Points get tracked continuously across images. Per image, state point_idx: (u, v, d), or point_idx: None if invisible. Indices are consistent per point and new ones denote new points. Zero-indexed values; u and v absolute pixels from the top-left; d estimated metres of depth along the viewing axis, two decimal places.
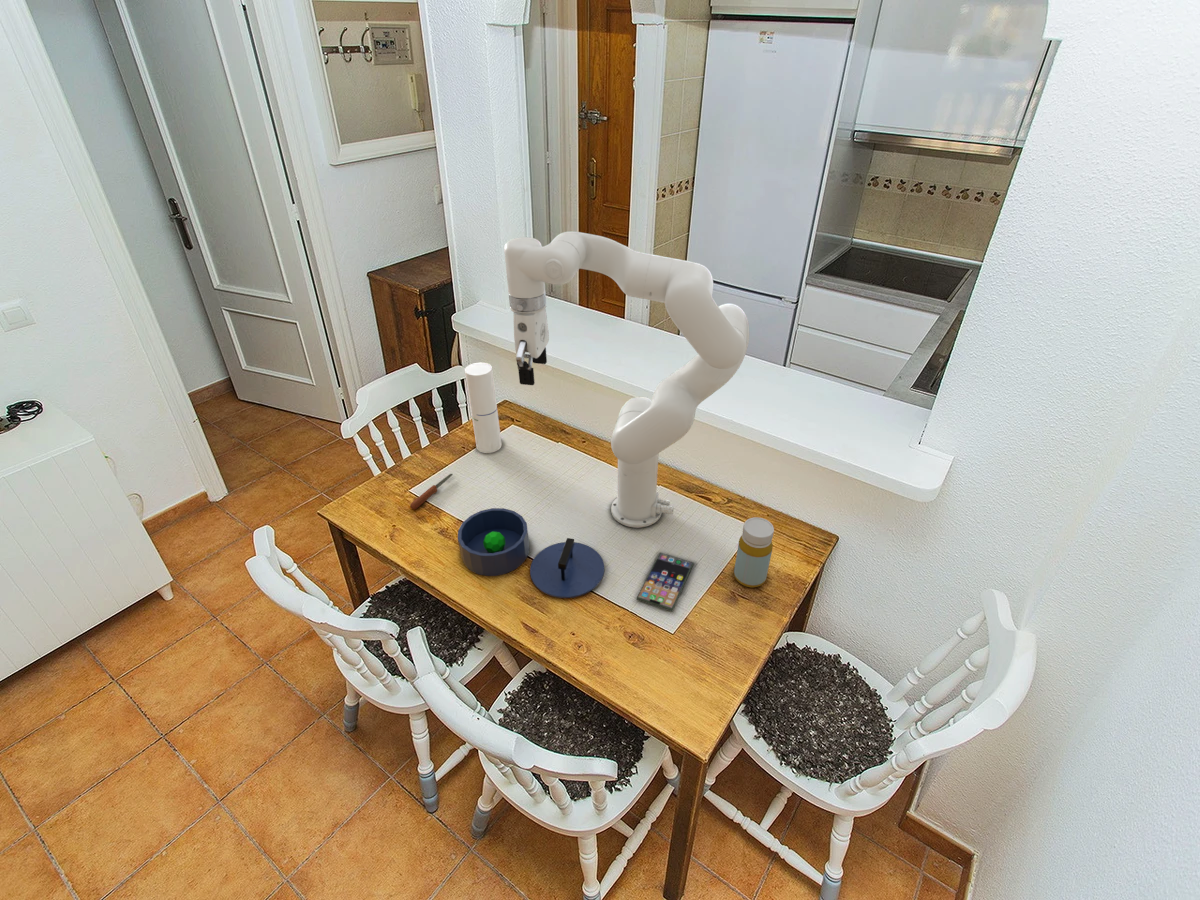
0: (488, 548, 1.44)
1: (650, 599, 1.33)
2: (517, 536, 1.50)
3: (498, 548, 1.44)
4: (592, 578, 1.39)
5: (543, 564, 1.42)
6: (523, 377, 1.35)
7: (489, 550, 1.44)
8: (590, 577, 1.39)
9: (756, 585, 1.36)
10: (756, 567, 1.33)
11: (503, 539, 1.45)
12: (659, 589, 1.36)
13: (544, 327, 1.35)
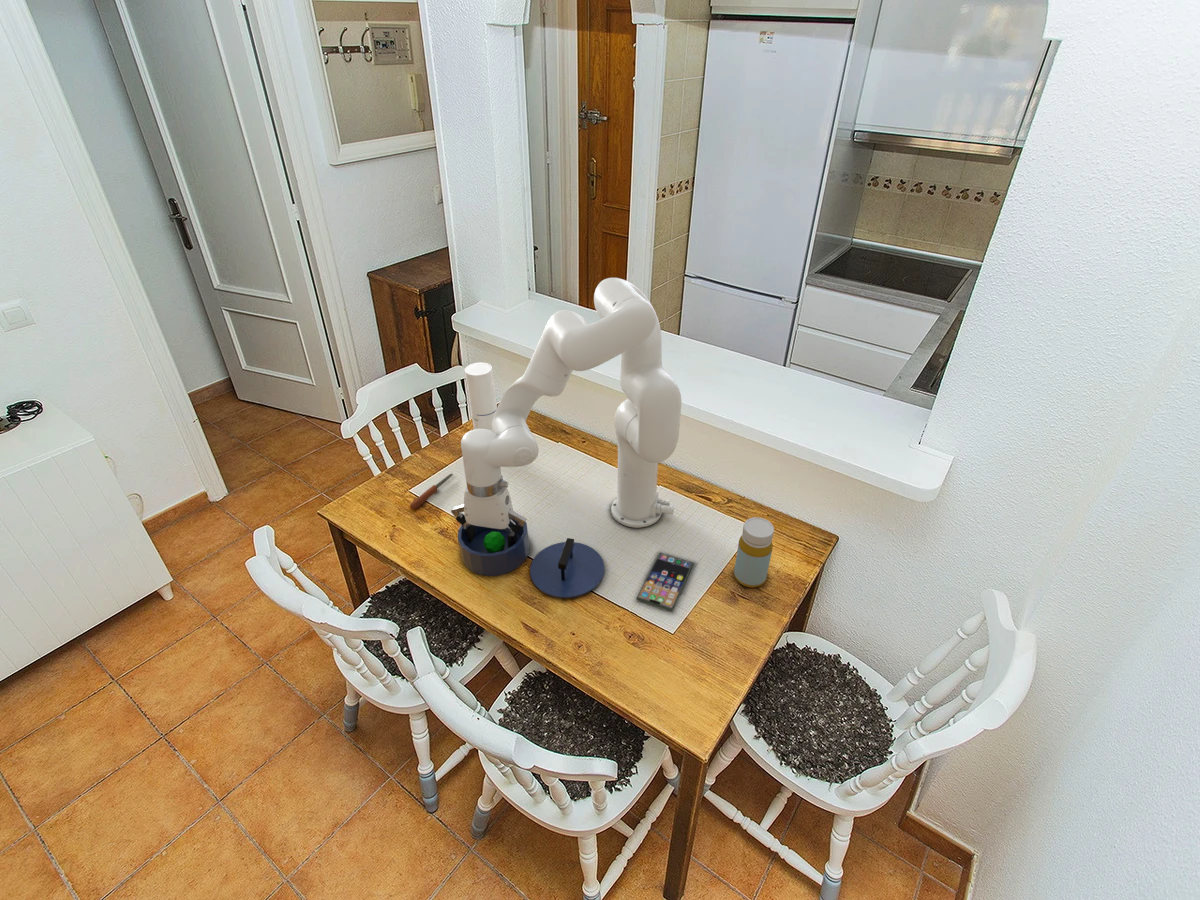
0: (488, 548, 1.44)
1: (650, 599, 1.33)
2: (517, 536, 1.50)
3: (498, 548, 1.44)
4: (592, 578, 1.39)
5: (543, 564, 1.42)
6: (515, 539, 1.43)
7: (489, 550, 1.44)
8: (590, 577, 1.39)
9: (756, 585, 1.36)
10: (756, 567, 1.33)
11: (503, 539, 1.45)
12: (659, 589, 1.36)
13: None
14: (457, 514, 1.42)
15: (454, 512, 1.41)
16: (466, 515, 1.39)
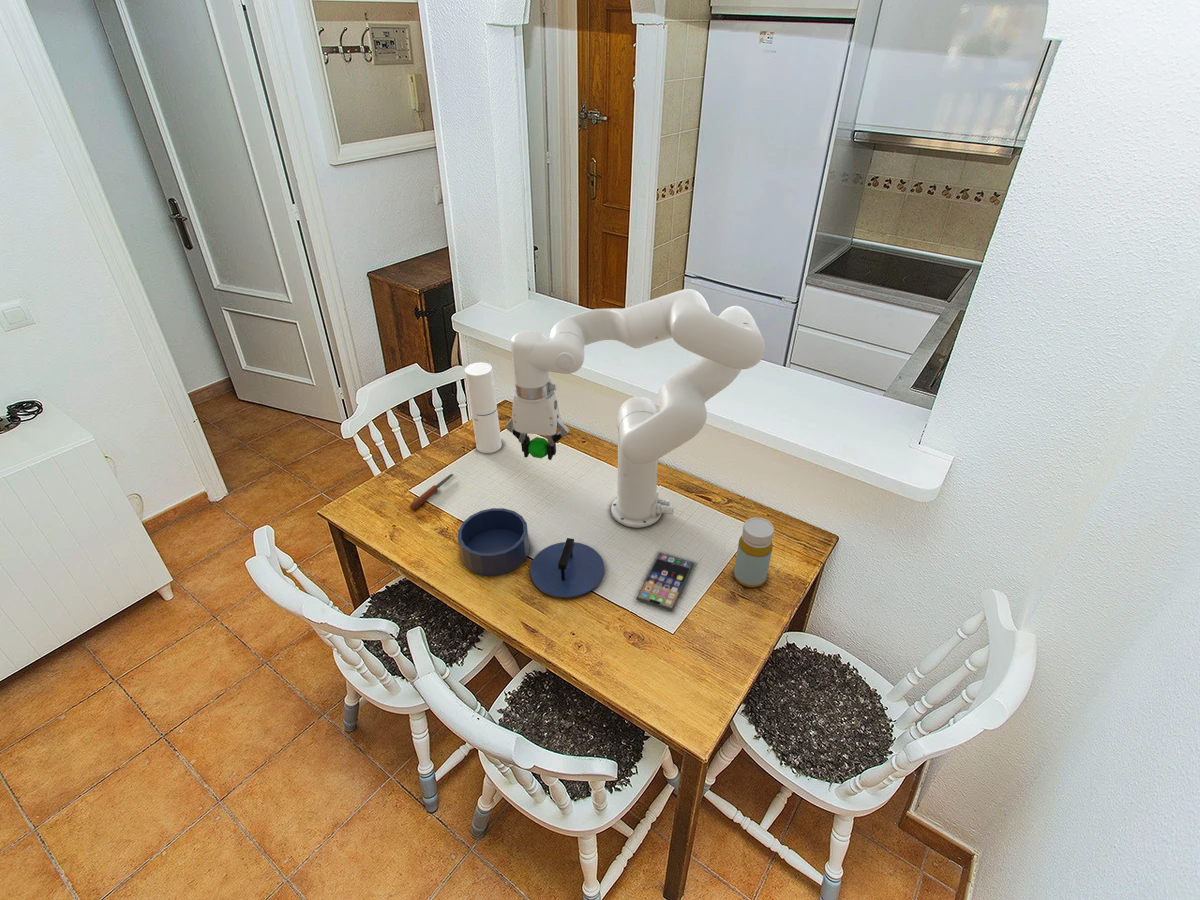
0: (533, 452, 1.44)
1: (650, 599, 1.33)
2: (517, 536, 1.50)
3: (543, 452, 1.44)
4: (592, 578, 1.39)
5: (543, 564, 1.42)
6: (554, 450, 1.45)
7: (534, 454, 1.45)
8: (590, 577, 1.39)
9: (756, 585, 1.36)
10: (756, 567, 1.33)
11: (547, 444, 1.45)
12: (659, 589, 1.36)
13: None
14: (512, 428, 1.43)
15: (508, 427, 1.43)
16: (514, 422, 1.40)
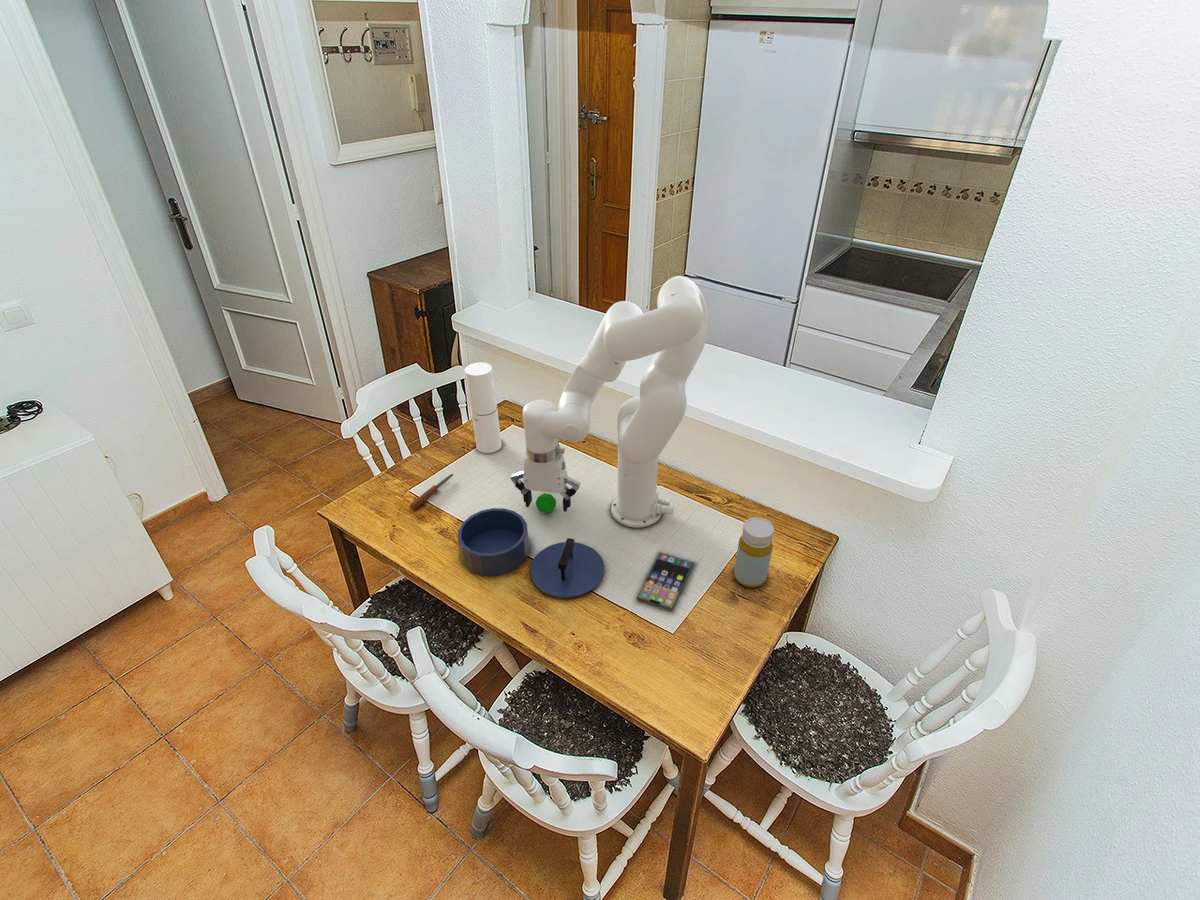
0: (541, 508, 1.55)
1: (650, 599, 1.33)
2: (517, 536, 1.50)
3: (550, 508, 1.55)
4: (592, 578, 1.39)
5: (543, 564, 1.42)
6: (569, 503, 1.55)
7: (541, 510, 1.56)
8: (590, 577, 1.39)
9: (756, 585, 1.36)
10: (756, 567, 1.33)
11: (554, 500, 1.57)
12: (659, 589, 1.36)
13: None
14: (516, 481, 1.54)
15: (513, 479, 1.54)
16: (525, 481, 1.52)
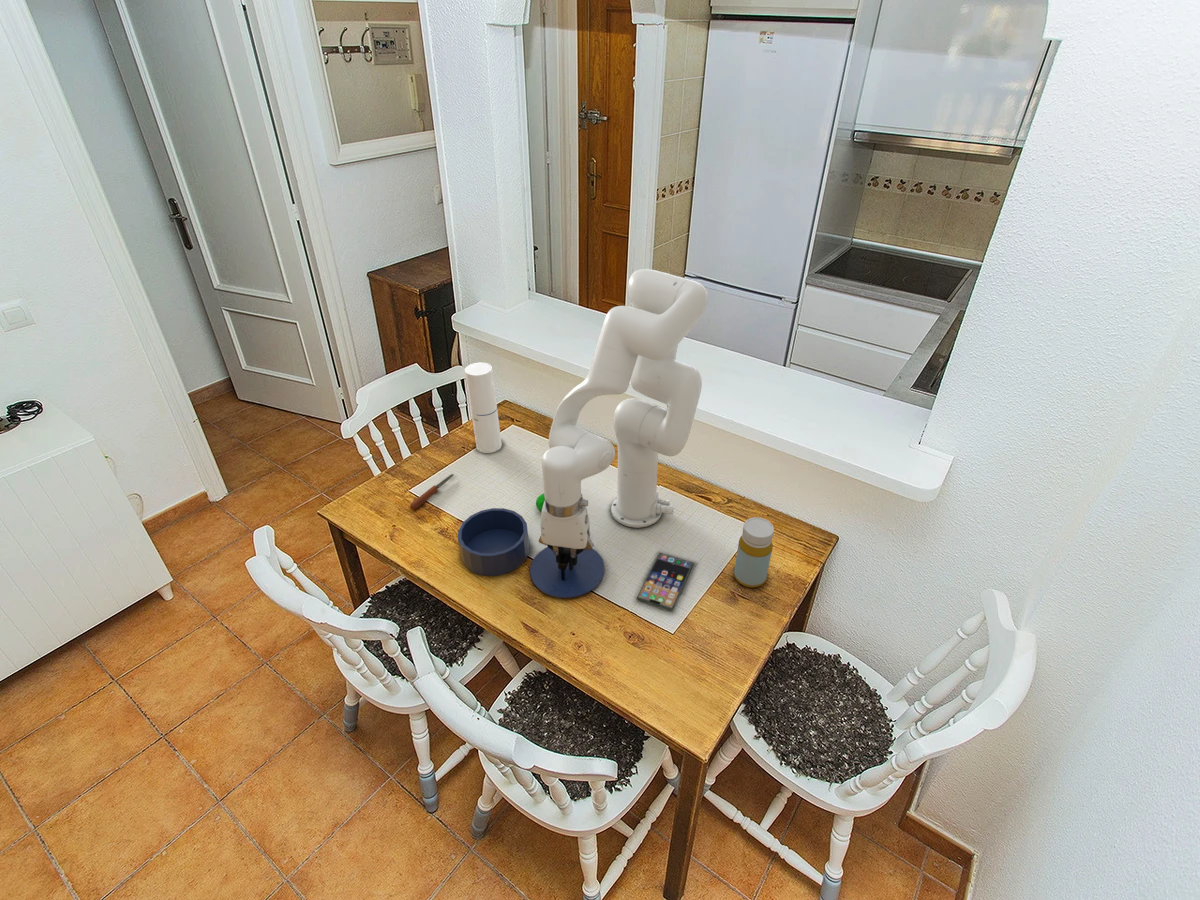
0: (541, 508, 1.55)
1: (650, 599, 1.33)
2: (517, 536, 1.50)
3: None
4: (592, 578, 1.39)
5: (543, 564, 1.42)
6: (576, 561, 1.39)
7: (541, 510, 1.56)
8: (590, 577, 1.39)
9: (756, 585, 1.36)
10: (756, 567, 1.33)
11: None
12: (659, 589, 1.36)
13: None
14: None
15: (541, 541, 1.37)
16: (543, 535, 1.34)
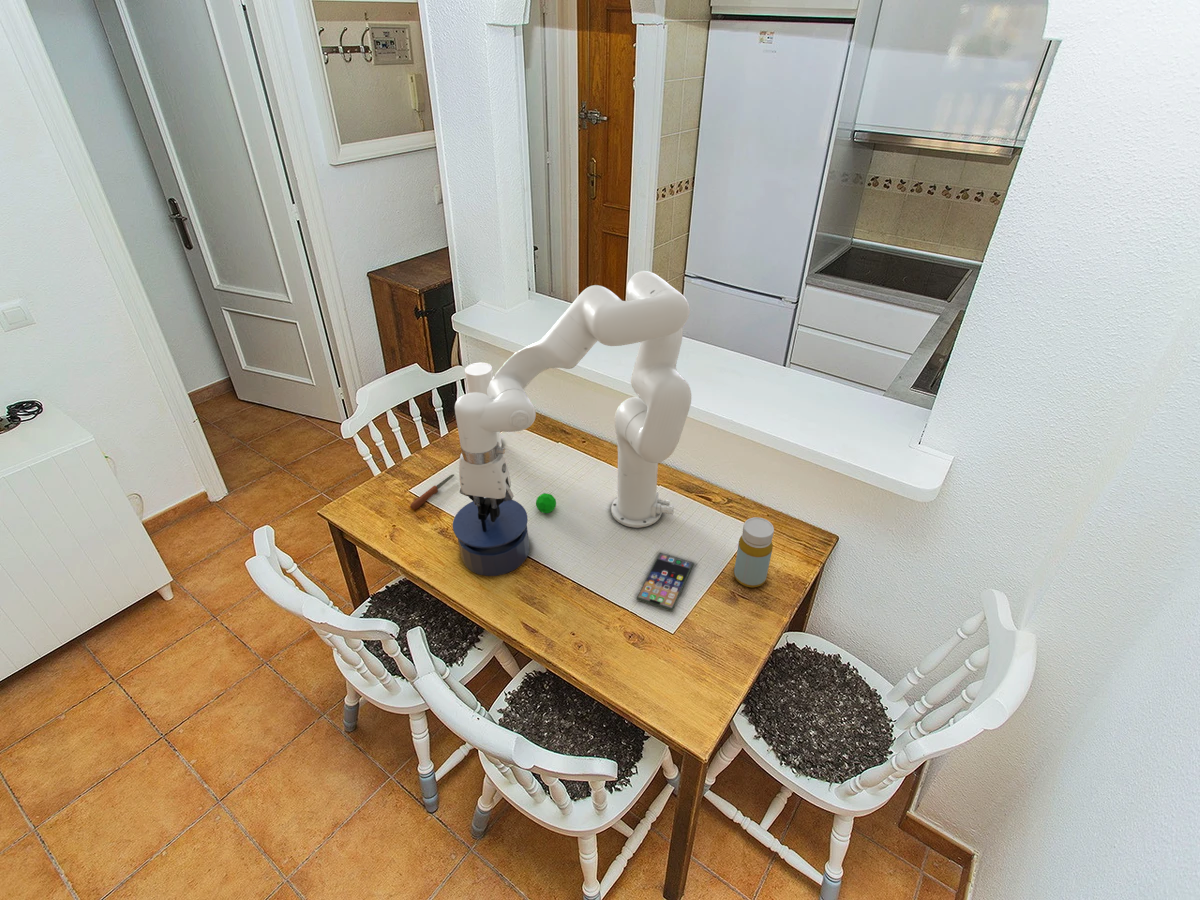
0: (541, 508, 1.55)
1: (650, 599, 1.33)
2: None
3: (550, 508, 1.55)
4: (513, 530, 1.39)
5: (467, 517, 1.42)
6: (497, 512, 1.39)
7: (541, 510, 1.56)
8: (512, 529, 1.39)
9: (756, 585, 1.36)
10: (756, 567, 1.33)
11: (554, 500, 1.57)
12: (659, 589, 1.36)
13: None
14: None
15: (462, 492, 1.37)
16: (462, 484, 1.34)
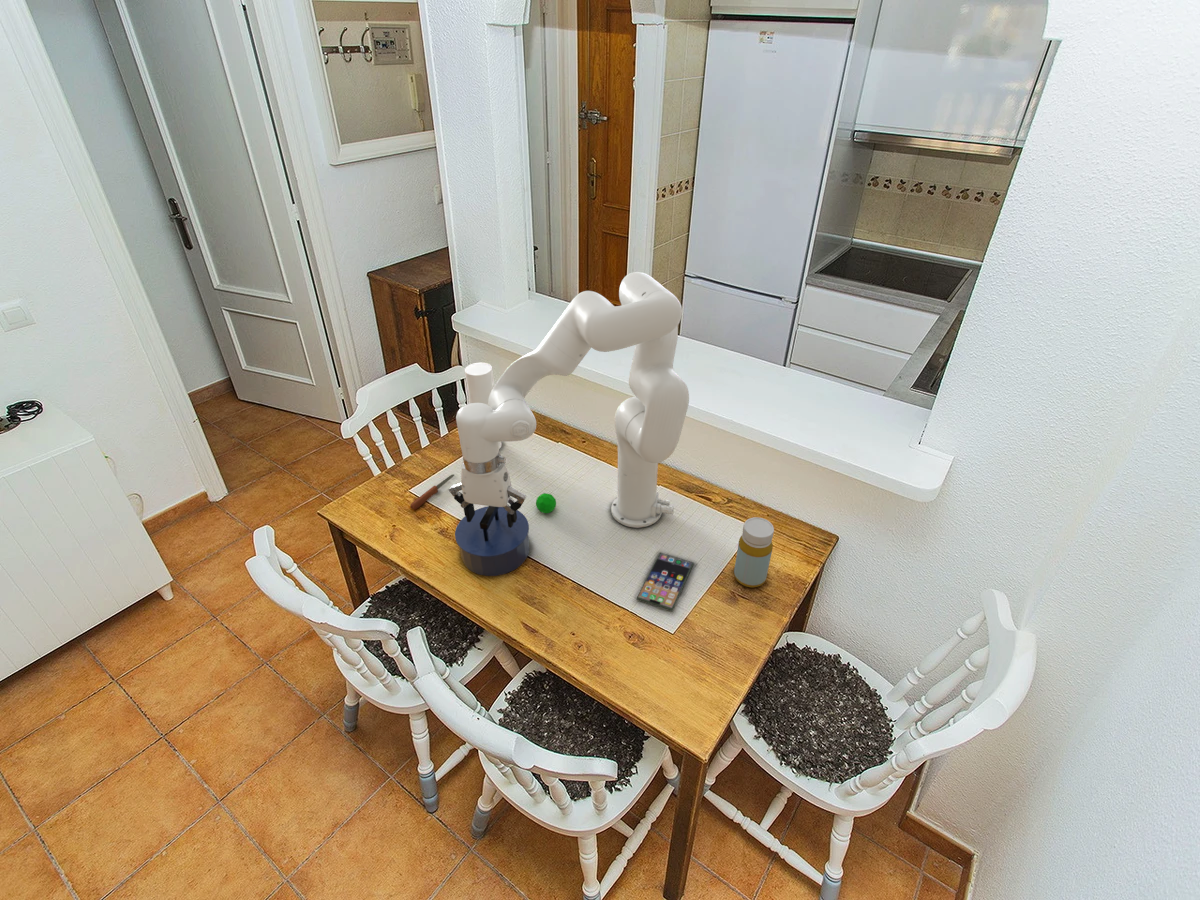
0: (541, 508, 1.55)
1: (650, 599, 1.33)
2: None
3: (550, 508, 1.55)
4: (515, 539, 1.40)
5: (469, 526, 1.44)
6: (514, 518, 1.39)
7: (541, 510, 1.56)
8: (513, 538, 1.41)
9: (756, 585, 1.36)
10: (756, 567, 1.33)
11: (554, 500, 1.57)
12: (659, 589, 1.36)
13: None
14: (455, 493, 1.38)
15: (451, 490, 1.38)
16: (464, 493, 1.36)
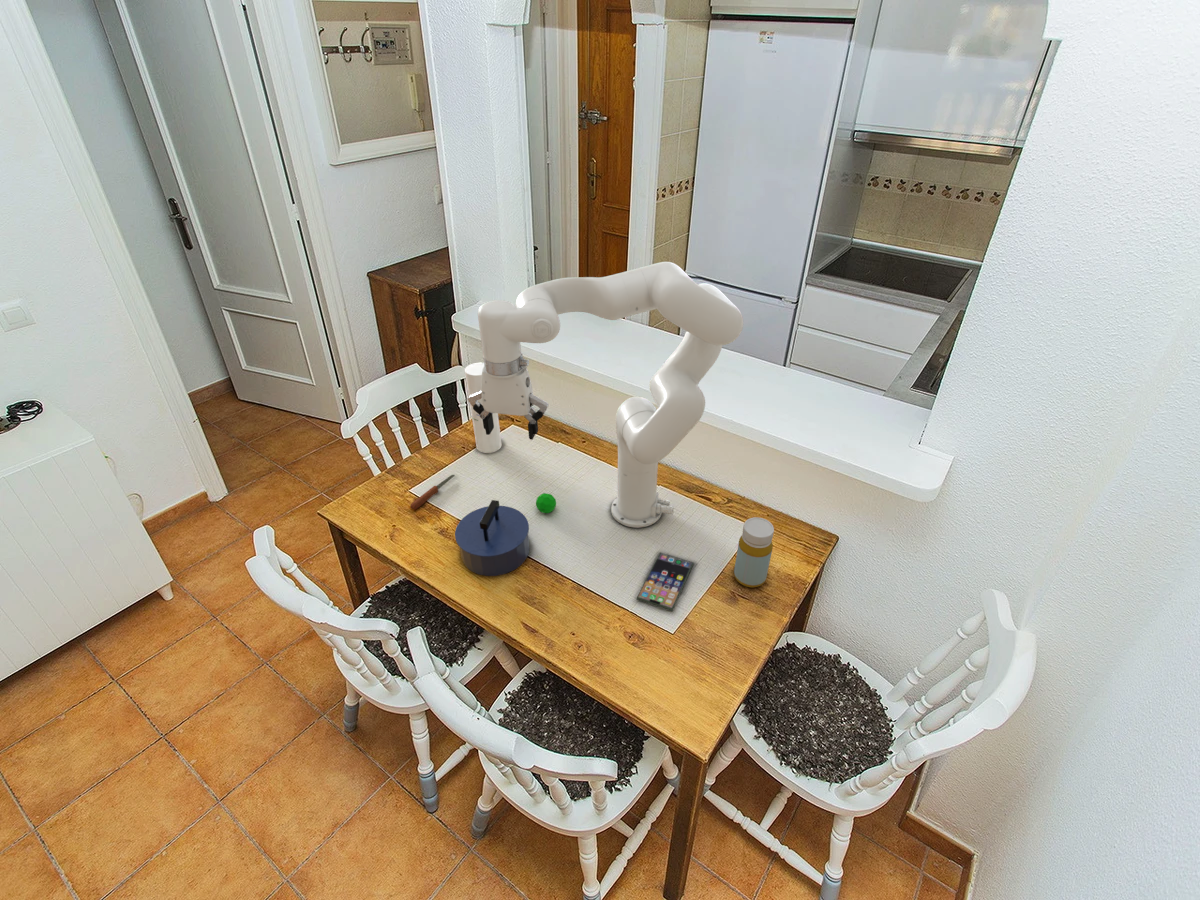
0: (541, 508, 1.55)
1: (650, 599, 1.33)
2: None
3: (550, 508, 1.55)
4: (515, 539, 1.40)
5: (469, 526, 1.44)
6: (536, 429, 1.34)
7: (541, 510, 1.56)
8: (513, 538, 1.41)
9: (756, 585, 1.36)
10: (756, 567, 1.33)
11: (554, 500, 1.57)
12: (659, 589, 1.36)
13: None
14: (474, 402, 1.33)
15: (470, 400, 1.33)
16: (484, 401, 1.30)
